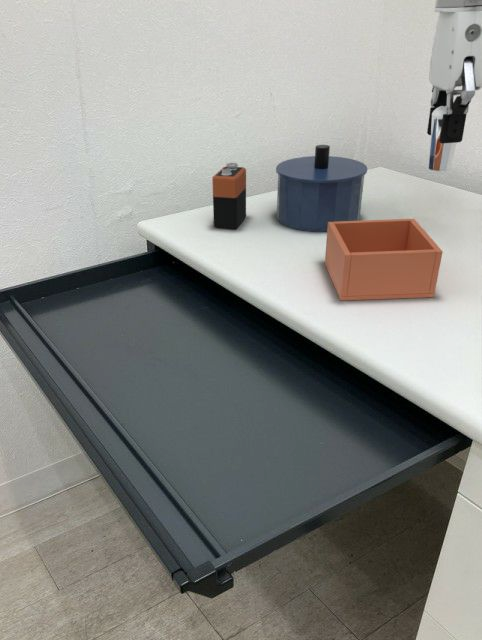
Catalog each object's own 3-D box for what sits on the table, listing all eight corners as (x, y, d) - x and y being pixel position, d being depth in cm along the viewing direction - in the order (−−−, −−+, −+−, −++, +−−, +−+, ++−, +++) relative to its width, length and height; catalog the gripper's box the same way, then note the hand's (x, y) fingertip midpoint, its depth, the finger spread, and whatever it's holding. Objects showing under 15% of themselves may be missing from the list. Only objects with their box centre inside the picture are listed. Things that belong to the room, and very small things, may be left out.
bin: (407, 260, 91) (414, 218, 87) (433, 297, 80) (443, 251, 77) (324, 263, 91) (327, 221, 87) (340, 300, 81) (345, 255, 77)
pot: (349, 203, 114) (354, 157, 109) (367, 230, 102) (373, 180, 97) (273, 206, 114) (274, 161, 110) (282, 233, 102) (283, 184, 98)
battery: (246, 217, 110) (246, 161, 104) (236, 230, 104) (236, 172, 99) (224, 215, 111) (223, 160, 105) (212, 228, 106) (211, 171, 100)
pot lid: (355, 160, 110) (358, 134, 108) (376, 184, 97) (380, 155, 95) (271, 163, 110) (272, 138, 108) (281, 188, 98) (282, 159, 95)
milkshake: (423, 174, 92) (434, 104, 86) (423, 164, 96) (433, 97, 90) (455, 174, 91) (467, 104, 85) (454, 164, 95) (466, 96, 89)
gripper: (521, -4, 74) (491, 149, 84) (469, -6, 88) (449, 125, 98) (460, 1, 74) (437, 153, 84) (418, -2, 88) (403, 128, 98)
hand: (443, 136), depth 91 cm, fingers closed on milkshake, 4 cm apart
